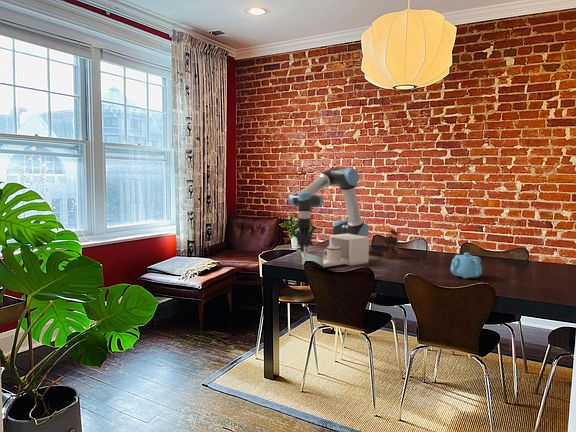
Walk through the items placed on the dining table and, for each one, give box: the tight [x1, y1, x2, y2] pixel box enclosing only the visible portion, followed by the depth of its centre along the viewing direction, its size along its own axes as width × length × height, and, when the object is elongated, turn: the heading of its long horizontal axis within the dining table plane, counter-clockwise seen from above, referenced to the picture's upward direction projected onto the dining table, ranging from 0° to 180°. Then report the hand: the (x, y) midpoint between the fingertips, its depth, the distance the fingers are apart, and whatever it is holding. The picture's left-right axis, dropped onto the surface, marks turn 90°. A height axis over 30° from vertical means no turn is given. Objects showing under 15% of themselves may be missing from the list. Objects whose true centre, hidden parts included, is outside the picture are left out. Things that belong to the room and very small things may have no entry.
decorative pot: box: [450, 252, 483, 280], centre depth 243 cm, size 16×16×14 cm
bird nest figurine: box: [381, 228, 401, 260], centre depth 296 cm, size 15×11×20 cm
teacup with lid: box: [323, 243, 341, 262], centre depth 273 cm, size 12×9×12 cm
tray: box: [301, 252, 349, 268], centre depth 271 cm, size 19×24×7 cm
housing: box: [329, 234, 370, 267], centre depth 282 cm, size 20×16×17 cm
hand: (303, 256), depth 261 cm, fingers closed
